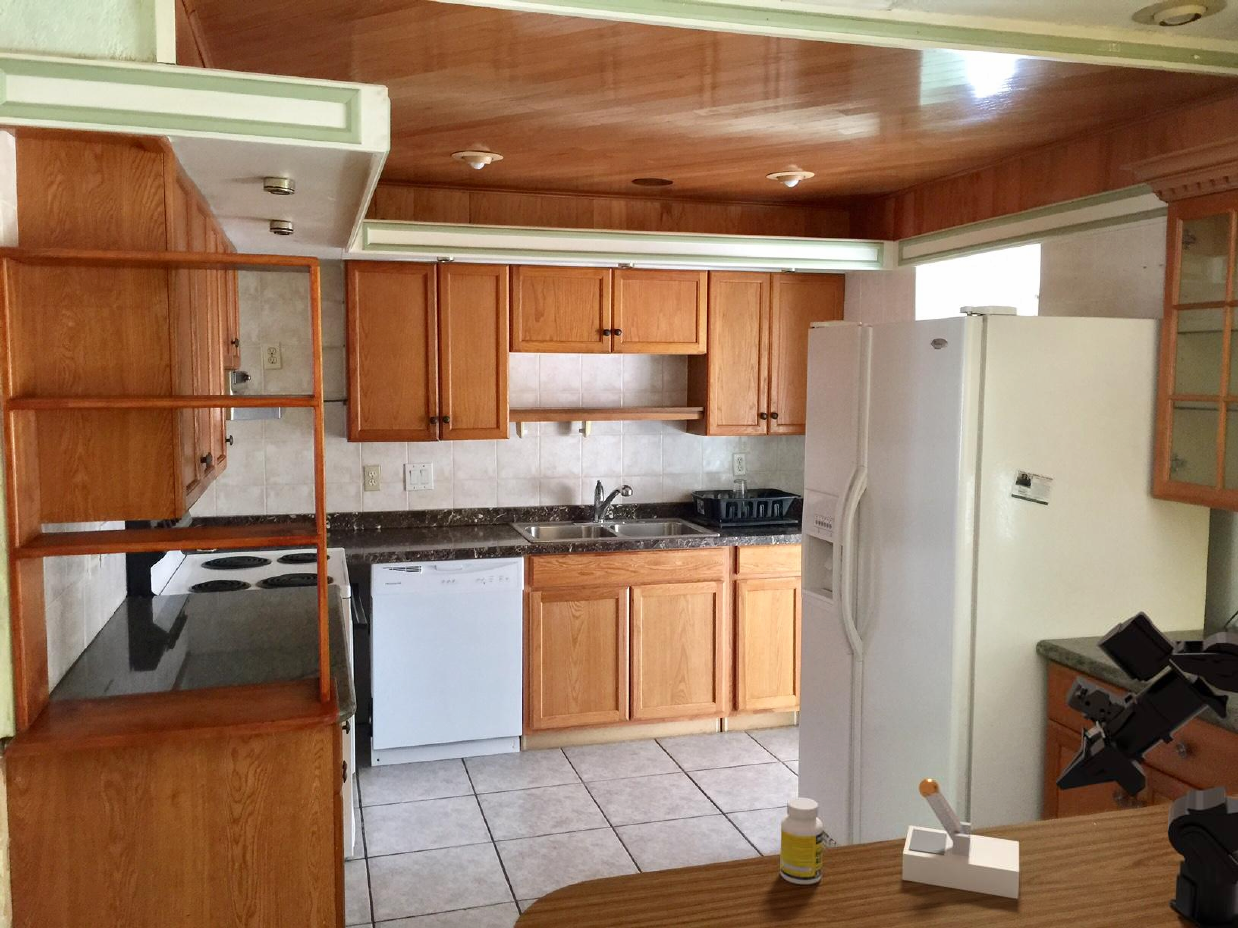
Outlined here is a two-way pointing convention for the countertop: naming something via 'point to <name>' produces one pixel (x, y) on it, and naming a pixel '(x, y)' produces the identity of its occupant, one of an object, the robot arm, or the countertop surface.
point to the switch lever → (940, 807)
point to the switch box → (962, 861)
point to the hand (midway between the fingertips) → (1058, 786)
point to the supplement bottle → (801, 842)
